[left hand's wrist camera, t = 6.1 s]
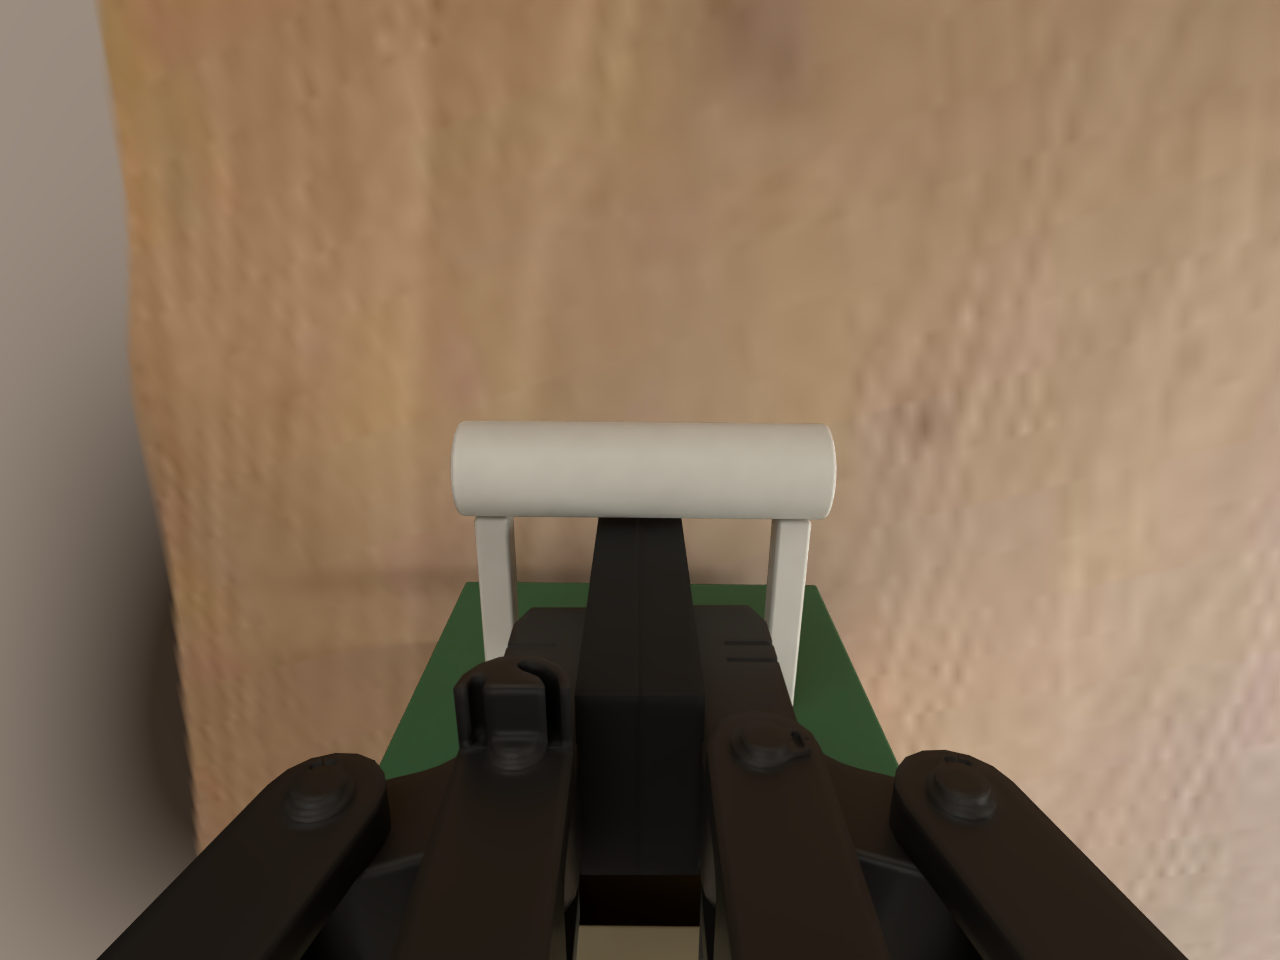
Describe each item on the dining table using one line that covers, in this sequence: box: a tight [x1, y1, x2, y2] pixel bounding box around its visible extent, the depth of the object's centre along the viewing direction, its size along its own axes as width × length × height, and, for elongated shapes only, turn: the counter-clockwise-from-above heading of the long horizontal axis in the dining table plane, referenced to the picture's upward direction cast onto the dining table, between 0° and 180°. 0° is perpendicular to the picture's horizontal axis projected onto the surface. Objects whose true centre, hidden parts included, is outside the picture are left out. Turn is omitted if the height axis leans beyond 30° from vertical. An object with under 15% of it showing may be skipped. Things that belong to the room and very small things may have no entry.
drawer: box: [379, 420, 899, 927], centre depth 18 cm, size 24×10×8 cm, turn 179°
